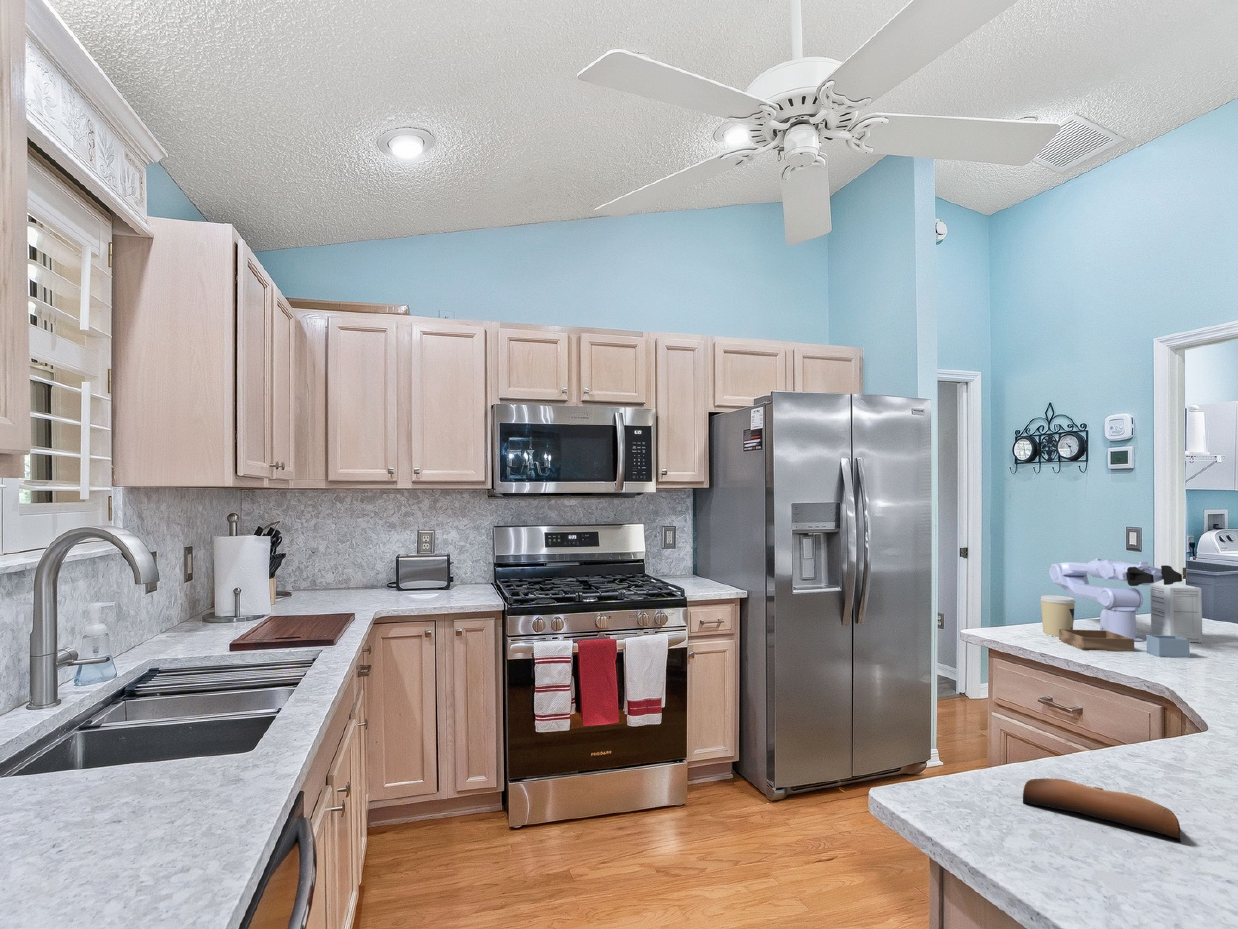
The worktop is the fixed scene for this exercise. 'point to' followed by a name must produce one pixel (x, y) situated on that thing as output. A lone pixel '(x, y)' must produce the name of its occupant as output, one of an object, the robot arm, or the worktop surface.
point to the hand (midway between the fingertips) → (1166, 578)
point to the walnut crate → (1096, 640)
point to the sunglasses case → (1102, 804)
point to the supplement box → (1176, 611)
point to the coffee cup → (1057, 613)
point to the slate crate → (1168, 646)
